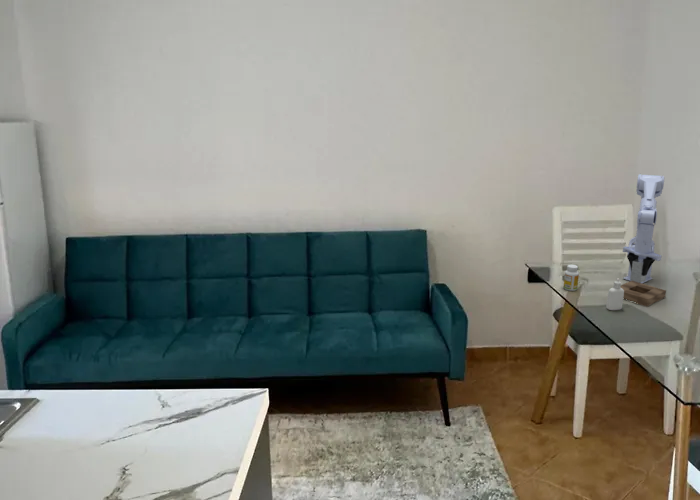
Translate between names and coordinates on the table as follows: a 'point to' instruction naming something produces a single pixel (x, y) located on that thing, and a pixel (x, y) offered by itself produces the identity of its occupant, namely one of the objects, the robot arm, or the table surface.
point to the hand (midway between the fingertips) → (638, 273)
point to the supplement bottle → (571, 278)
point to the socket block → (642, 293)
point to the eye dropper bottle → (615, 296)
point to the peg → (637, 271)
